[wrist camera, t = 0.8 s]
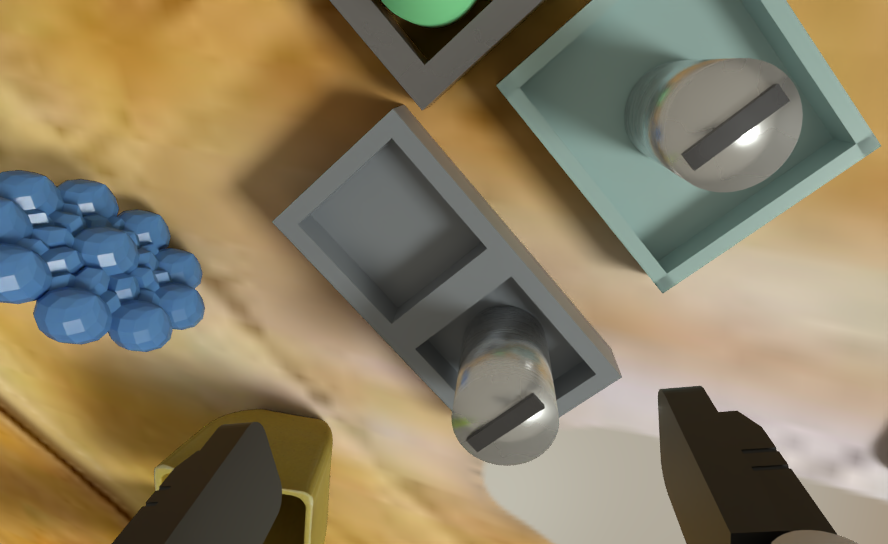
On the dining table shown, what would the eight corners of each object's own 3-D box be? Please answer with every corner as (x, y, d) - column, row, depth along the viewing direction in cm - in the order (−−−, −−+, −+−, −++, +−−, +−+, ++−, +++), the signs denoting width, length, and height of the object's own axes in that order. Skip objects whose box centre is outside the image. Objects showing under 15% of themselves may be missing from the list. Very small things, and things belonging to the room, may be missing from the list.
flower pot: (229, 482, 42) (159, 588, 33) (228, 379, 39) (150, 466, 30) (347, 503, 41) (306, 615, 33) (355, 400, 38) (313, 494, 30)
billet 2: (689, 38, 28) (759, 26, 20) (745, 117, 29) (832, 136, 21) (604, 106, 30) (639, 121, 22) (660, 180, 30) (713, 219, 23)
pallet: (293, 207, 34) (272, 221, 31) (404, 104, 31) (392, 108, 28) (497, 424, 38) (496, 457, 34) (611, 349, 35) (621, 377, 32)
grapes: (48, 199, 35) (-164, 260, 24) (114, 128, 33) (-84, 160, 22) (184, 335, 38) (48, 449, 26) (253, 277, 36) (137, 373, 25)
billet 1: (511, 289, 33) (512, 357, 25) (564, 350, 34) (581, 433, 26) (446, 337, 34) (429, 416, 27) (498, 394, 35) (497, 486, 28)
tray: (694, -92, 27) (714, -109, 24) (847, 138, 30) (881, 146, 27) (497, 84, 30) (496, 85, 28) (650, 275, 33) (662, 293, 31)
